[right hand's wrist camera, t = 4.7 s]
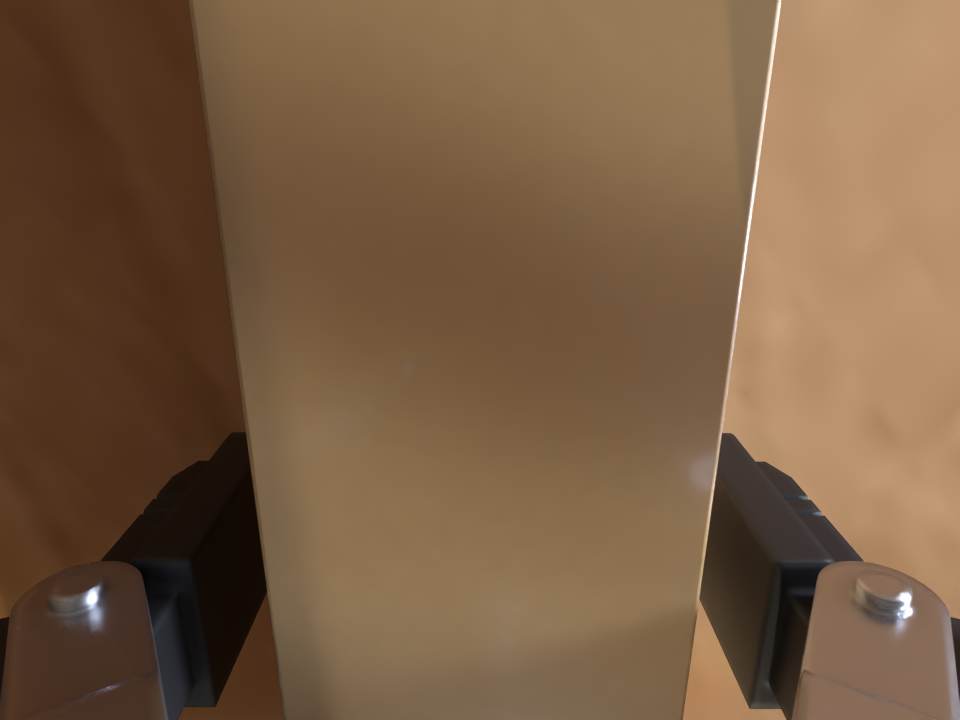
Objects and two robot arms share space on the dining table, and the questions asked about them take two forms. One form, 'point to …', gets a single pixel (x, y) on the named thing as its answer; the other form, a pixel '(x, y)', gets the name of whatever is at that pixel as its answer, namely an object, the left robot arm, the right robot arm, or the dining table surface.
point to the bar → (484, 336)
